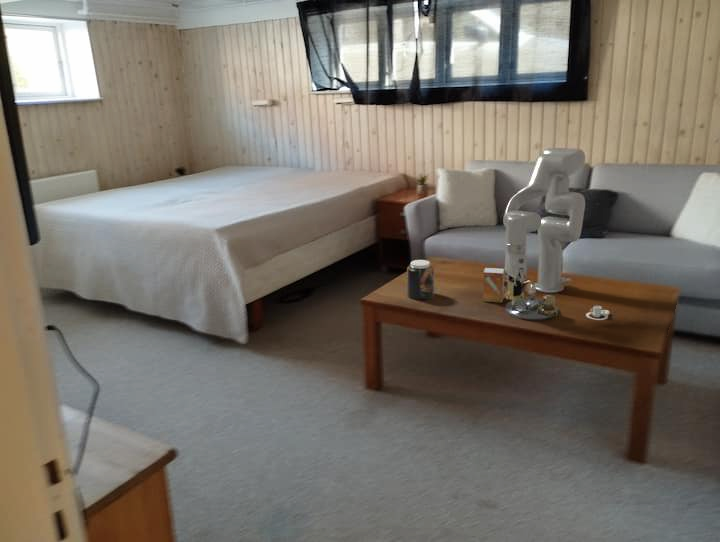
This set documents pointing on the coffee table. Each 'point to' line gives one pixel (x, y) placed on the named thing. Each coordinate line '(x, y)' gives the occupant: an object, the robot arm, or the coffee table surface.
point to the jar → (420, 280)
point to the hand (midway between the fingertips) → (514, 292)
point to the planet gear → (509, 293)
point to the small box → (493, 285)
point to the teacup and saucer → (598, 313)
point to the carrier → (533, 307)
